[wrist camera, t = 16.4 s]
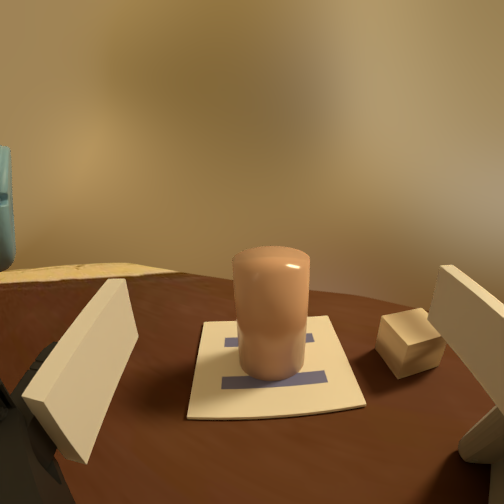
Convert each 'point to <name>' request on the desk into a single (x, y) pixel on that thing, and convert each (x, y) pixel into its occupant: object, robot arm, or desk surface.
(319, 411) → the letter card
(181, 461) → the desk surface
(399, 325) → the ash block
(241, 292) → the terracotta canister
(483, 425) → the digital clock
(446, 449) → the desk surface
